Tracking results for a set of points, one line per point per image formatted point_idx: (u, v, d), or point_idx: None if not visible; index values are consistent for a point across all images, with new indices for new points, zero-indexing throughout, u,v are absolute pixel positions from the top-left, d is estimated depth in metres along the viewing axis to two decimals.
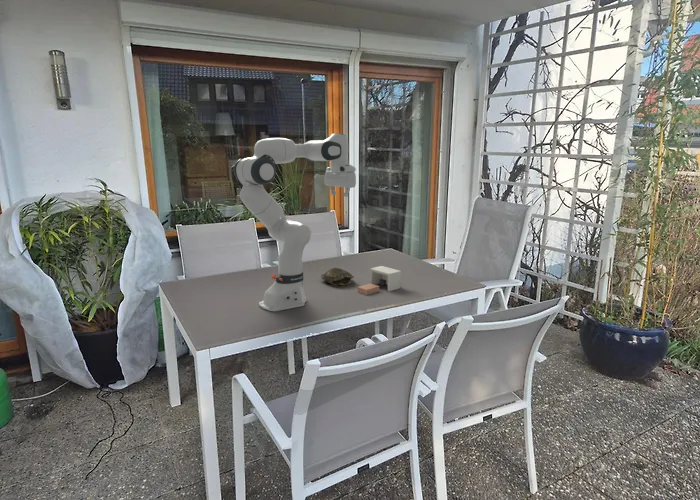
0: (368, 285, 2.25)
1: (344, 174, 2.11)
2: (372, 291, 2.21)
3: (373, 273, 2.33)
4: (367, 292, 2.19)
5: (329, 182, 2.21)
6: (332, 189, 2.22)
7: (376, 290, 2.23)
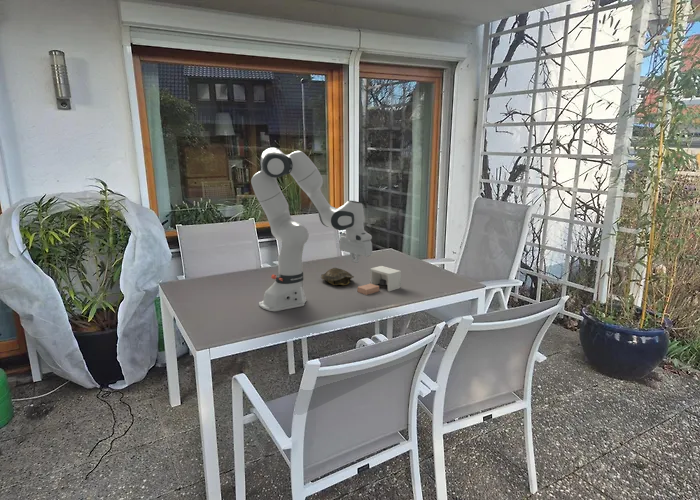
0: (368, 285, 2.25)
1: (360, 243, 2.06)
2: (372, 291, 2.21)
3: (373, 273, 2.33)
4: (367, 292, 2.19)
5: (344, 248, 2.16)
6: (353, 256, 2.15)
7: (376, 290, 2.23)
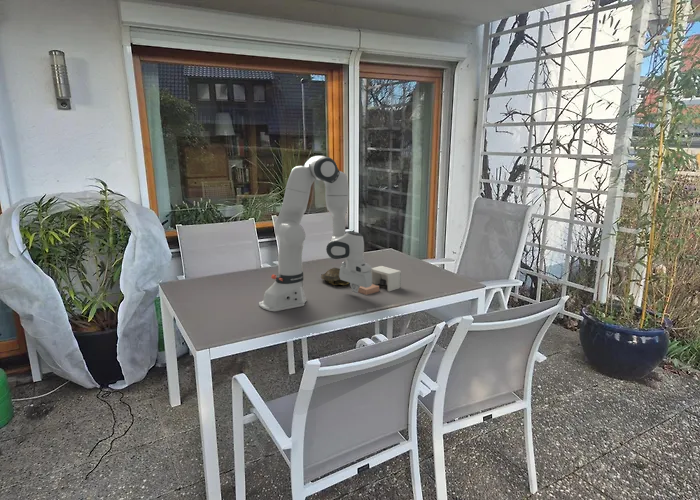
0: None
1: (360, 274, 2.09)
2: (372, 291, 2.21)
3: (373, 273, 2.33)
4: (367, 292, 2.19)
5: (344, 277, 2.19)
6: (352, 285, 2.18)
7: (376, 290, 2.23)
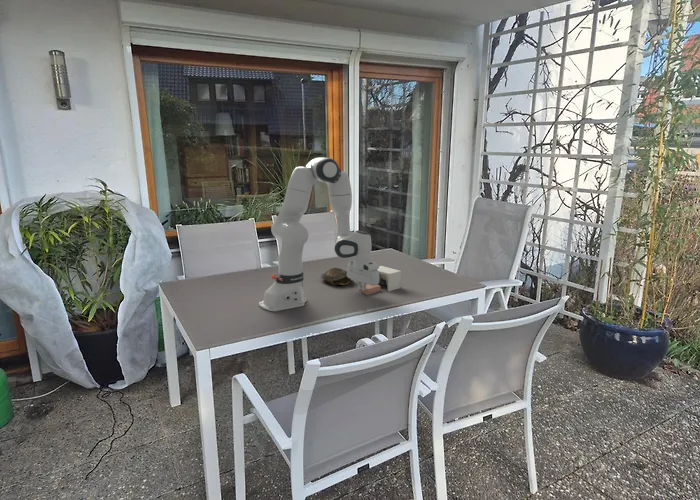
0: None
1: (367, 272, 2.12)
2: (373, 290, 2.22)
3: None
4: (368, 291, 2.20)
5: (352, 276, 2.22)
6: (360, 284, 2.21)
7: (377, 289, 2.24)
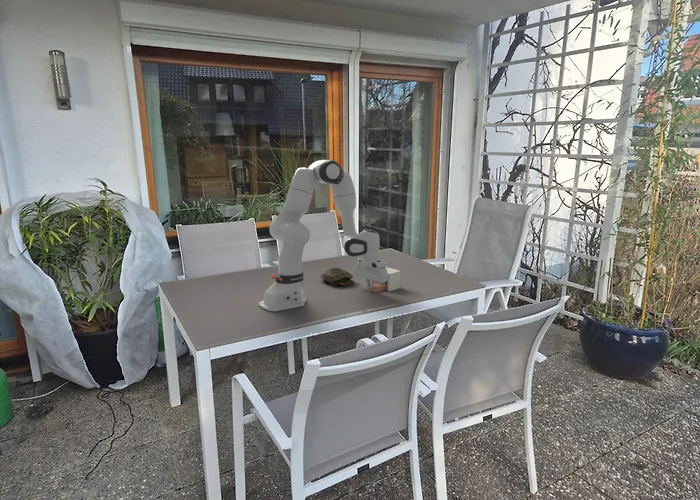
0: (377, 282, 2.30)
1: (375, 270, 2.16)
2: (382, 288, 2.26)
3: None
4: (377, 289, 2.23)
5: (360, 273, 2.26)
6: (368, 281, 2.25)
7: (385, 287, 2.27)
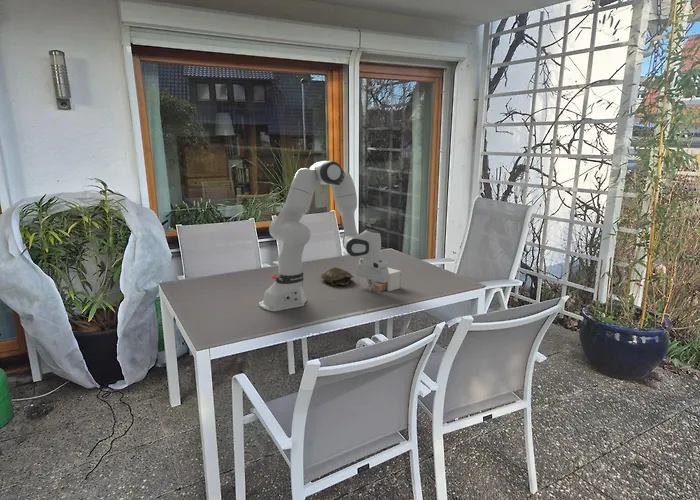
0: None
1: (377, 270, 2.17)
2: (385, 287, 2.27)
3: None
4: (380, 288, 2.25)
5: (361, 273, 2.27)
6: (369, 281, 2.26)
7: None
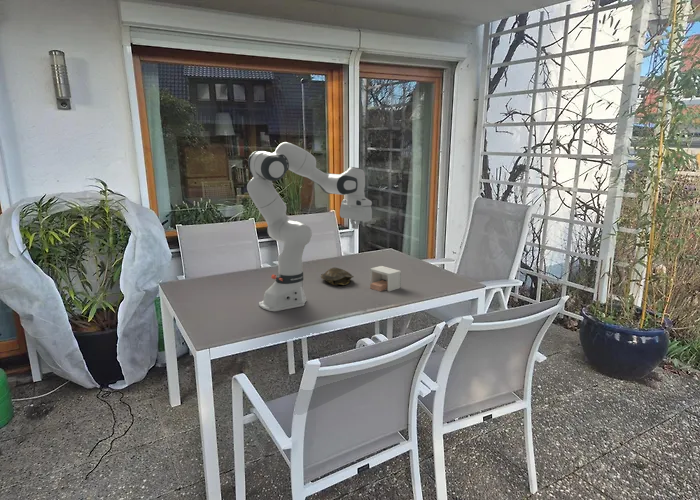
0: (380, 282, 2.31)
1: (360, 208, 2.11)
2: (385, 287, 2.27)
3: (373, 273, 2.33)
4: (380, 288, 2.25)
5: (345, 214, 2.21)
6: (353, 222, 2.20)
7: None
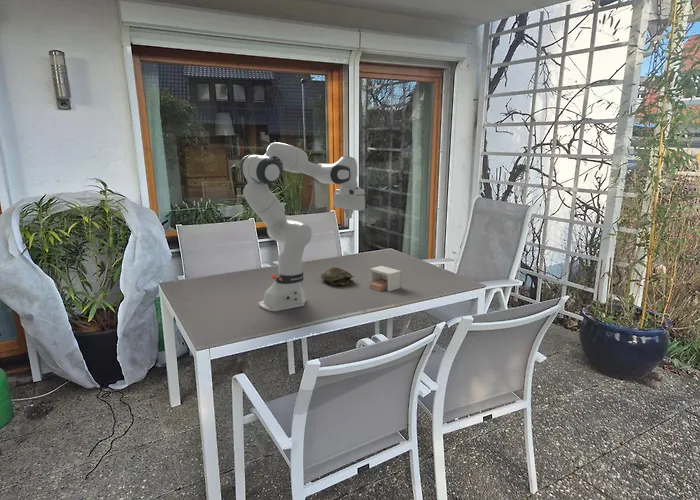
0: (380, 282, 2.31)
1: (353, 197, 2.12)
2: (384, 287, 2.27)
3: (373, 273, 2.33)
4: (380, 288, 2.25)
5: (338, 204, 2.22)
6: (346, 212, 2.21)
7: None
